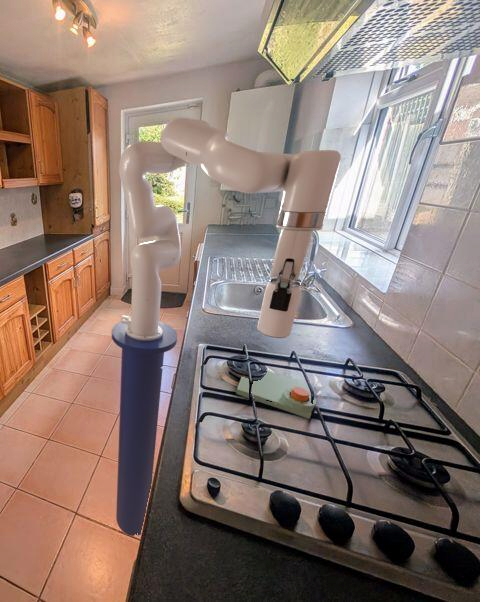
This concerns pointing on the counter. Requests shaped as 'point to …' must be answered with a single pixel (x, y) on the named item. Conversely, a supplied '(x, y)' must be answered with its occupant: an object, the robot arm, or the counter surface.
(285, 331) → the can
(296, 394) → the tare button
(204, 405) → the counter surface
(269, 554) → the counter surface
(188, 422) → the counter surface
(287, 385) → the scale
